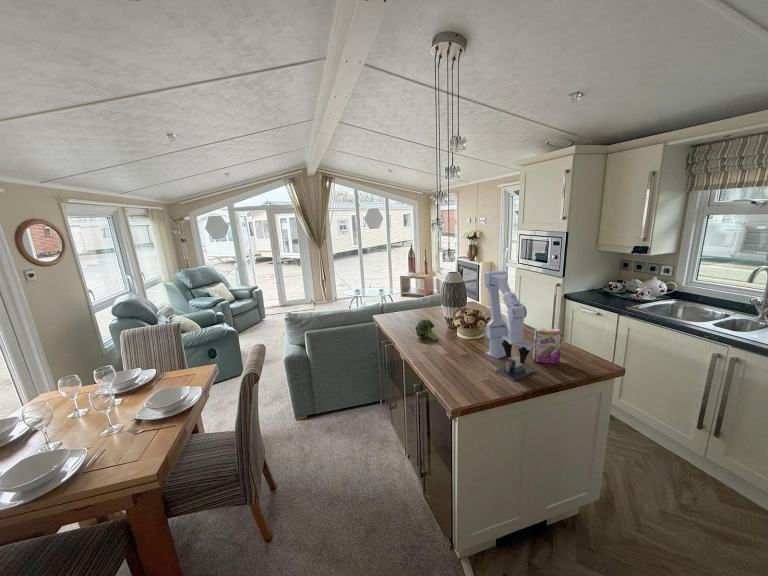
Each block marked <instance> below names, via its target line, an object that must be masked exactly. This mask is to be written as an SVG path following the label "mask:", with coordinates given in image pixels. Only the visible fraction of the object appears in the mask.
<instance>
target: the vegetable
mask: <svg viewBox="0 0 768 576" xmlns="http://www.w3.org/2000/svg"><path fill="white" fill-rule="evenodd" d="M434 327H435V325H434V324H433V322H432V321H431V320H430V319H421V320H420V321H418V323H417V325H416V326H415V331H416V335H417V337H419V338H420V337H421V338H424V337H429V338H430V339H431V340H432V341H436V340H437V339H438V334H436V332H433V331H432V329H433V328H434Z"/></svg>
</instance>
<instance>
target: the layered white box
mask: <svg viewBox="0 0 768 576" xmlns="http://www.w3.org/2000/svg"><path fill="white" fill-rule="evenodd" d="M507 359H508V360H511V361H512V362H511V368H513V369H519V368H521V367H522V365H523V363H520V356H517V355H511V357H508V358H507Z"/></svg>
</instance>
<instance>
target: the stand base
mask: <svg viewBox="0 0 768 576" xmlns="http://www.w3.org/2000/svg"><path fill="white" fill-rule="evenodd" d="M508 359H509V358H507V359H505V365H504V366H503V367H500V368H498V369H495V373H496V374H498V375H501V376H503V377H505V378H507V379H509V380H510V381H512V382H514V381H517V380H519V379H522V378H524V377H526V376H527V377H528V376H529V375H532V374H534V373H535V369H533V368H530V367H528V366H525V365H523V364H522V367H521V368H519V369H513V368H511V362H512V361H511V360H508Z"/></svg>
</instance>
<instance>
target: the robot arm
mask: <svg viewBox="0 0 768 576" xmlns="http://www.w3.org/2000/svg"><path fill="white" fill-rule="evenodd" d="M508 279H509V275H508V273H507V271H506V270H503V269H502V270H493V271H486V272H485V274H484V285H485V288H486V289H488V298H489V300H488V301H489V307H490V308H489V309H490V310H489V311H490V320H489V322H487V323H485V324H486V327H485V335H486V337H487V339H489V349H488V350H489V351H487V352H485V355H488V356H490V357H493V358H495V359H501V358H503V357H506V358H507V359H509V357H512V348H513V347H512V346H517V347H519V349H518V352H519V357H520V363H522V364H524V363H525V362H526V359H527V357H528V355H529V353H530V352H531V350H532V346H533V345H531V344H529V343H527V342H526V341H524V324H525V323H524V319H525V318H526V317H527V315H528V314H527V313H528V312H527V308H526V306H525V305H524V304H523V303H521V302H520V301H519V299H518V297H517V295H516V293H514V292H512V291H511V289H510V285H509V283H508ZM499 290H500V291H499ZM500 292H501V293H502V295H503V297H502V300H503V302H504V304H505V306H506V308H507V311H506V312H507V317H508V322H509V329H508V324H507V323H506V322H505V321H504V320H502V312H501V311H502V310H501V301H500Z"/></svg>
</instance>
